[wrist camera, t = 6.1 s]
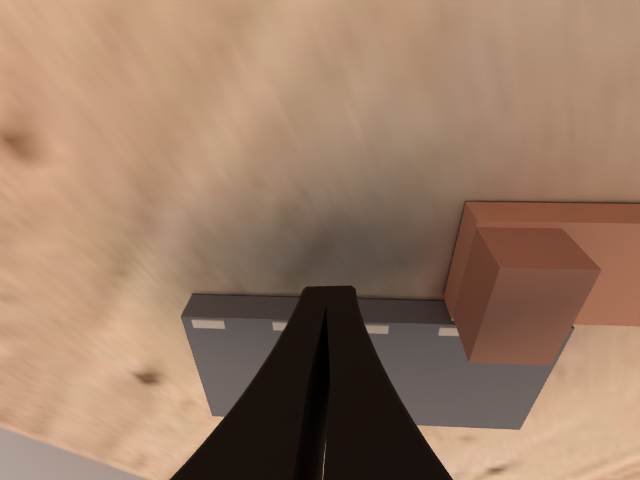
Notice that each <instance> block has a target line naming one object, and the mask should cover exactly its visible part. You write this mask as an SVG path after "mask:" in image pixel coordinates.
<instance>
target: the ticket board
mask: <svg viewBox="0 0 640 480" xmlns="http://www.w3.org/2000/svg"><path fill="white" fill-rule="evenodd" d="M299 298H300V297H268V296H230V295H193V294H192V296H191V298H190V300H189V302H188V304H187V306H186V308H185V309H184V311H183V313H182V315H181V319H182V322H183V325H184V328H185V331H186V334H187V338H188V341H189V344H190V347H191V350H192V353H193V356H194V360H195V363H196V366H197V369H198V372H199V375H200V379H201V382H202V385H203V388H204V391H205V394H206V397H207V401H208V404H209V407H210V410H211V413H212V416H222V417H225V416H226V415H227V414H228V412H229V411H230V410H231V408H232V407H233V406H234V404H235V403H236V402H237V401H238V399H239V398H240V397H241V395H242V394H243V392H244V391H245V390H246V388H247V387H248V385H249V384H250V383H251V381H252V380H253V378H254V377H255V375H256V374H257V372H258V371H259V369H260V368H261V366H262V365H263V363H264V362H265V360H266V359H267V357H268V355H269V354H270V352H271V351H272V349H273V347H274V346H275V344H276V342H277V340H278V339H279V337H280V335H281V334H282V332H283V330H284V328H285V327H286V325H287V323H288V321H289V319H290V317H291V315H292V313H293V311H294V309H295V307H296V305H297V303H298V301H299ZM357 301H358V305H359V309H360V312H361V315H362V318H363V321H364V324H365V326H366V329H367V332H368V334H369V336H370V339H371V341H372V343H373V346H374V348H375V350H376V352H377V355H378V357H379V359H380V361H381V363H382V365H383V367H384V369H385V371H386V373H387V375H388V377H389V379H390V381H391V383H392V384H393V386H394V388H395V390H396V392H397V394H398V395H399V397H400V399H401V401H402V402H403V404H404V406H405V407H406V409H407V411H408V412H409V414H410V416H411V417H412V419H413V421H414V422H415V424H416V425H425V426H448V427H470V428H493V429H516V430H520V428H521V427H522V425H523V423H524V421H525V419H526V417H527V415H528V414H529V412H530V410H531V408H532V406H533V404H534V402H535V401H536V399H537V397H538V395H539V393H540V391H541V389H542V388H543V386H544V384H545V382H546V380H547V378H548V377H549V375H550V373H551V371H552V369H553V367H554V365H555V364H556V362H557V360H558V358H559V356H560V354H561V352H562V351H563V349H564V347H565V345H566V343H567V341H568V339H569V338H570V336H571V334H572V332H573V330H574V327H573V325H572V327H571V329H570V331H569V333H568V335H567V337H566V339H565V340H564V342H563V344H562V346H561V348H560V350H559V352H558V354H557V355H556V357H555V359H554V361H553V363H552V365H551V366H550V365H521V364H493V363H469V362H468V359H467V356H466V354H465V351H464V348H463V345H462V342H461V339H460V336H459V333H458V331H457V328H456V325H455V322H454V321H451V318H450V315H449V312H448V309H447V306H446V303H445V301H420V300H382V299H357Z"/></svg>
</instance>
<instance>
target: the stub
mask: <svg viewBox="0 0 640 480" xmlns="http://www.w3.org/2000/svg"><path fill="white" fill-rule="evenodd" d="M444 300H445V303H446V306H447V309H448V312H449V315H450V318H451V321H454V322H455V325H456V328H457V331H458V333H459V336H460V339H461V342H462V345H463V348H464V351H465V354H466V356H467V359H468V362H469V363H493V364H521V365H550V366H551V365H552V363H553V361H554V359H555V357H556V355H557V354H558V352H559V350H560V348H561V346H562V344H563V342H564V340H565V339H566V337H567V335H568V333H569V331H570V329H571V327H572V325H573V324H584V325H618V326H640V204H603V203H522V202H466V204H465V208H464V212H463V216H462V221H461V225H460V229H459V233H458V238H457V242H456V246H455V250H454V255H453V259H452V263H451V267H450V272H449V276H448V280H447V284H446V289H445V293H444Z"/></svg>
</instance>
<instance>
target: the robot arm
mask: <svg viewBox="0 0 640 480" xmlns="http://www.w3.org/2000/svg"><path fill="white" fill-rule="evenodd" d="M325 444H326V448H325ZM324 453H325V461H324ZM323 464H324V474H323ZM322 478H323V480H453V479H452V477H451V476H450V475H449V473H448V472H447V470H446V469H445V467H444V466H443V465H442V463H441V462H440V460H439V459H438V457H437V456H436V455H435V453H434V452H433V450H432V449H431V447H430V446H429V444H428V443H427V441H426V440H425V438H424V437H423V435H422V433H421V432H420V430H419V429H418V427H417V426H416V424H415V422H414V421H413V419H412V417H411V416H410V414H409V412H408V411H407V409H406V407H405V406H404V404H403V402H402V401H401V399H400V397H399V395H398V394H397V392H396V390H395V388H394V386H393V384H392V383H391V381H390V379H389V377H388V375H387V373H386V371H385V369H384V367H383V365H382V363H381V361H380V359H379V357H378V355H377V352H376V350H375V348H374V346H373V343H372V341H371V339H370V336H369V334H368V332H367V329H366V326H365V324H364V321H363V318H362V315H361V312H360V309H359V305H358V301H357V296H356V289H355V288H354V287H353V286H315V287H306V288H305V289H304V290H303V291H302V294H301V296H300V298H299V301H298V303H297V305H296V307H295V309H294V311H293V313H292V315H291V317H290V319H289V321H288V323H287V325H286V327H285V328H284V330H283V332H282V334H281V335H280V337H279V339H278V340H277V342H276V344H275V346H274V347H273V349H272V351H271V352H270V354H269V355H268V357H267V359H266V360H265V362H264V363H263V365H262V366H261V368H260V369H259V371H258V372H257V374H256V375H255V377H254V378H253V380H252V381H251V383H250V384H249V385H248V387H247V388H246V390H245V391H244V392H243V394H242V395H241V397H240V398H239V399H238V401H237V402H236V403H235V404H234V406H233V407H232V408H231V410H230V411H229V412H228V414H227V415H226V416H225V417H224V419H223V420H222V421H221V422H220V423H219V425H218V426H217V427H216V428H215V429H214V431H213V432H212V433H211V434H210V435H209V437H208V438H207V439H206V440H205V441H204V443H203V444H202V445H201V446H200V447H199V448H198V449H197V451H196V452H195V453H194V454H193V455H192V456H191V457H190V458H189V460H188V461H187V462H186V463H185V464H184V465H183V466H182V467H181V468H180V469H179V470H178V471H177V472H176V473H175V474H174V475H173V477H172V478H171V479H170V480H322Z"/></svg>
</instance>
